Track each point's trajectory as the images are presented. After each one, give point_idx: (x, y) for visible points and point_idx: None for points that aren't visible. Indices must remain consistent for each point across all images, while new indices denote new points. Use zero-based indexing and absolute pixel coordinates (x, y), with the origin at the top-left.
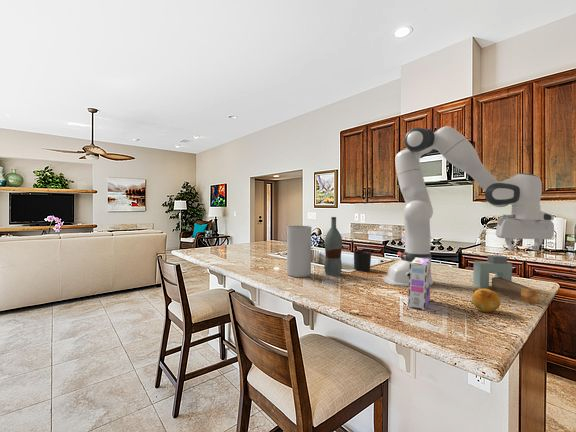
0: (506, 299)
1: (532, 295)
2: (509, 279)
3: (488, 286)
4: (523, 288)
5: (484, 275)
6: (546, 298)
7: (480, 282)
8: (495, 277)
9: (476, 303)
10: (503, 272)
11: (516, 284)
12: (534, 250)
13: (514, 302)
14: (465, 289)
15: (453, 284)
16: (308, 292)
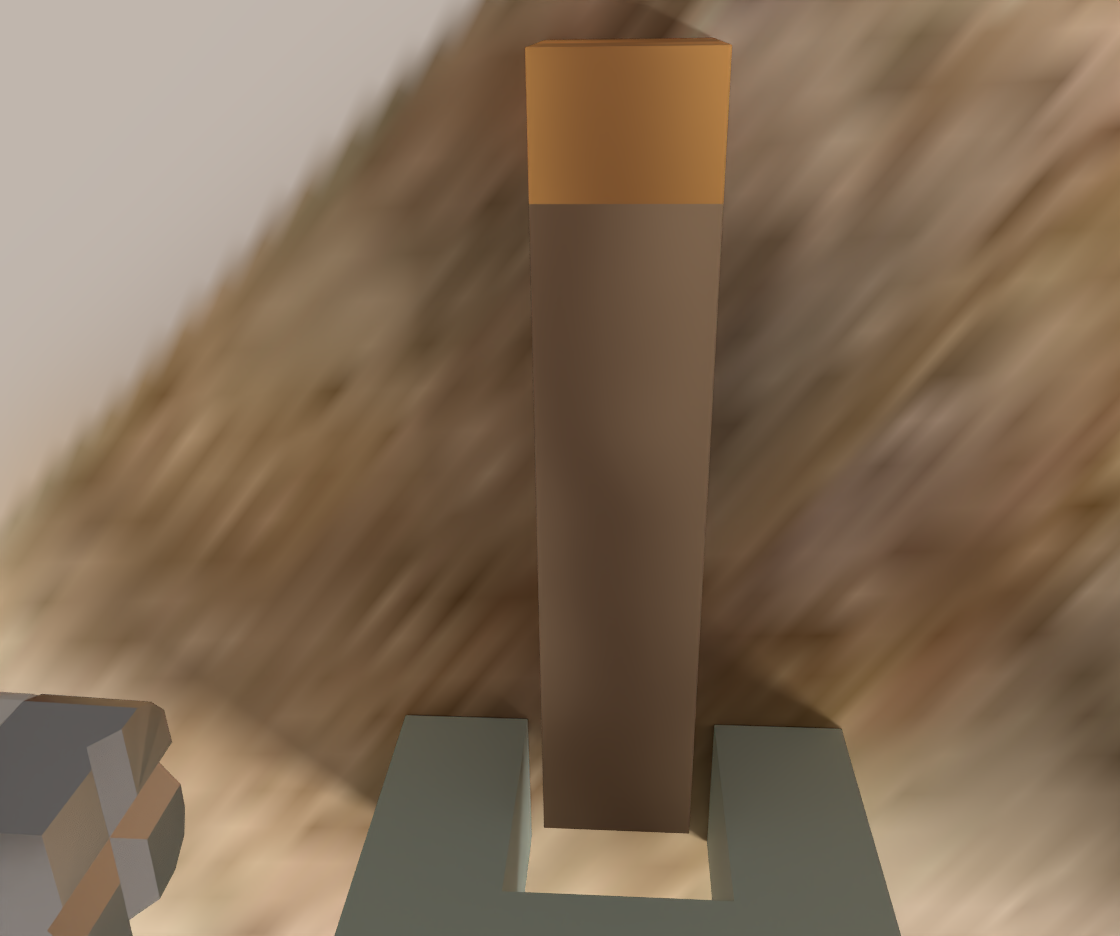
0: (882, 227)
1: (626, 43)
2: (409, 803)
3: (721, 738)
4: (697, 183)
5: (810, 863)
6: (225, 297)
7: (848, 783)
8: (641, 820)
9: None
10: (490, 894)
11: (616, 441)
12: (161, 710)
13: (877, 79)
14: (1115, 668)
15: (1093, 865)
16: None
